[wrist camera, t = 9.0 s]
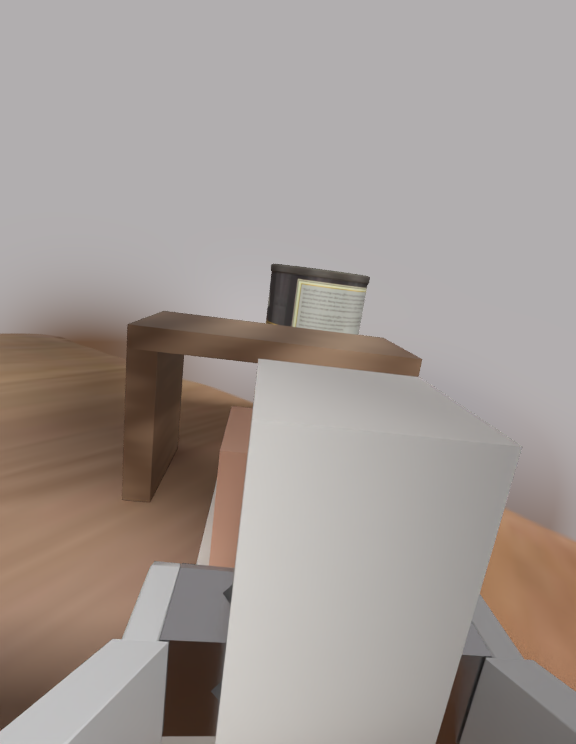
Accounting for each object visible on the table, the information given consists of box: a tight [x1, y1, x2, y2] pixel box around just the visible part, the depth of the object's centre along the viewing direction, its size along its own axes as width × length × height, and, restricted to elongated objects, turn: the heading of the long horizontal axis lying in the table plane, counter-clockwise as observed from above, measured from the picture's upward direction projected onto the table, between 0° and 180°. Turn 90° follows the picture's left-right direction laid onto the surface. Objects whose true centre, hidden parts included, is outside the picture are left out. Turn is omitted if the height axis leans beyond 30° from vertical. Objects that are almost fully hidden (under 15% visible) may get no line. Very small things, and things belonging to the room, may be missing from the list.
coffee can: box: [266, 264, 370, 335], centre depth 43 cm, size 10×10×14 cm
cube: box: [209, 406, 253, 568], centre depth 18 cm, size 5×5×5 cm
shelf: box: [122, 311, 422, 502], centre depth 24 cm, size 15×7×10 cm, turn 93°
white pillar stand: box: [160, 359, 522, 744], centre depth 14 cm, size 6×18×11 cm, turn 3°
